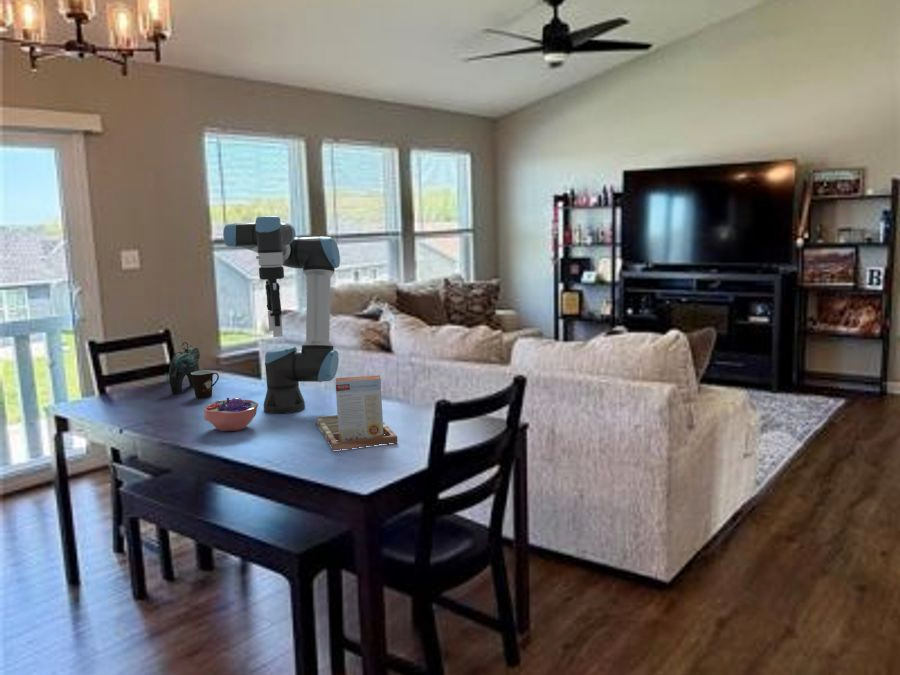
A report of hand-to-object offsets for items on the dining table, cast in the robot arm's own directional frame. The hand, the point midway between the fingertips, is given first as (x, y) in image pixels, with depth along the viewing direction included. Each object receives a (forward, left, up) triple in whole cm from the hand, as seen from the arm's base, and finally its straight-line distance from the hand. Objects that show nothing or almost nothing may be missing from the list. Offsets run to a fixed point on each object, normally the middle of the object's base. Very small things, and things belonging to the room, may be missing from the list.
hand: (275, 333), depth 233 cm
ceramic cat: (-93, -30, -35) cm, 104 cm away
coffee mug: (-75, -22, -35) cm, 86 cm away
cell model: (-20, -15, -35) cm, 43 cm away
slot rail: (+4, +23, -35) cm, 42 cm away
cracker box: (+14, +23, -35) cm, 44 cm away
